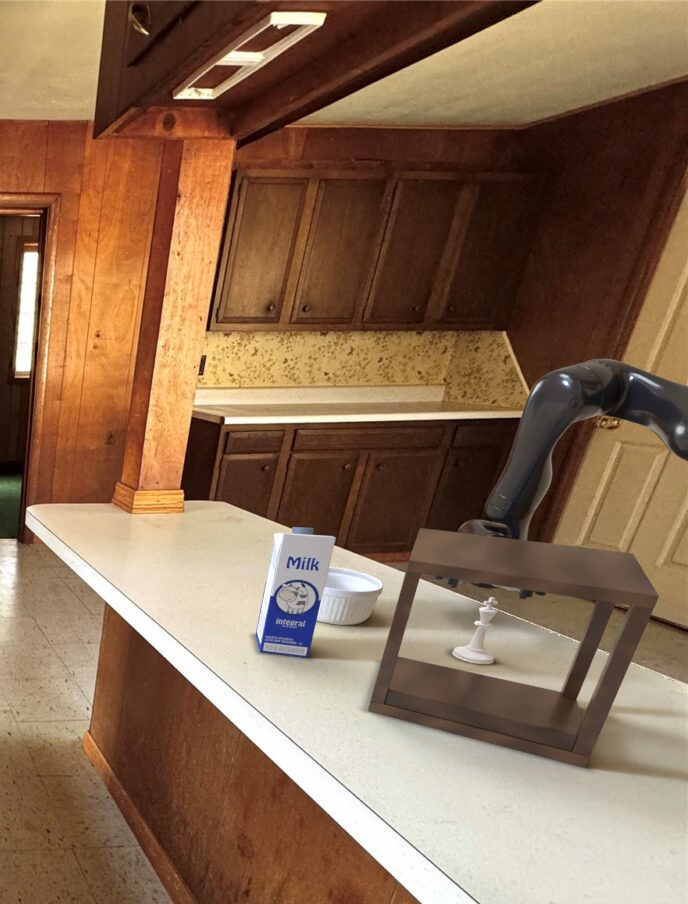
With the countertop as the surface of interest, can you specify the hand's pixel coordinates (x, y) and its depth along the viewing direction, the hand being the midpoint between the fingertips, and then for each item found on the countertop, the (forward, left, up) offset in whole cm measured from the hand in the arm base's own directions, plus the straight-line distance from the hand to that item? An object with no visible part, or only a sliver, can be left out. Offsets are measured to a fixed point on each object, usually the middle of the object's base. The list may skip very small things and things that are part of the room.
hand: (489, 587), depth 106 cm
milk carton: (+24, +23, -9) cm, 34 cm away
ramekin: (+20, +3, -9) cm, 22 cm away
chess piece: (0, +10, -9) cm, 13 cm away
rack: (0, +29, -9) cm, 30 cm away
